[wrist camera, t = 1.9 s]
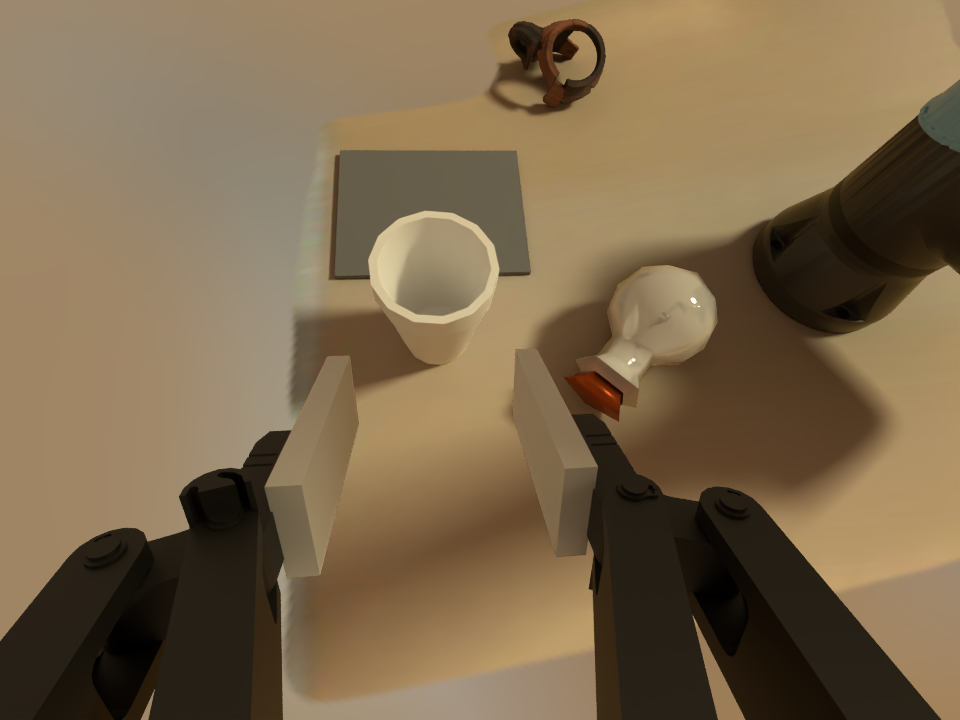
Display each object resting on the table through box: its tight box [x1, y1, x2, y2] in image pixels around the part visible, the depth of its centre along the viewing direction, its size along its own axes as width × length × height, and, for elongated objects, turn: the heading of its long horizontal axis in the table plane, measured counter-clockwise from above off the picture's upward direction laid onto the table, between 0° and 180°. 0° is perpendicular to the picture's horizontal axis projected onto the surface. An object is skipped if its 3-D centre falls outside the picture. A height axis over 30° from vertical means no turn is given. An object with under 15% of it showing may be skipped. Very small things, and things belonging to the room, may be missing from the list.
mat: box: [335, 150, 531, 279], centre depth 50 cm, size 16×20×1 cm
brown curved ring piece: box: [508, 19, 606, 107], centre depth 56 cm, size 12×10×8 cm
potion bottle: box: [564, 265, 718, 422], centre depth 42 cm, size 9×10×15 cm
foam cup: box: [368, 211, 500, 365], centre depth 39 cm, size 10×9×13 cm
